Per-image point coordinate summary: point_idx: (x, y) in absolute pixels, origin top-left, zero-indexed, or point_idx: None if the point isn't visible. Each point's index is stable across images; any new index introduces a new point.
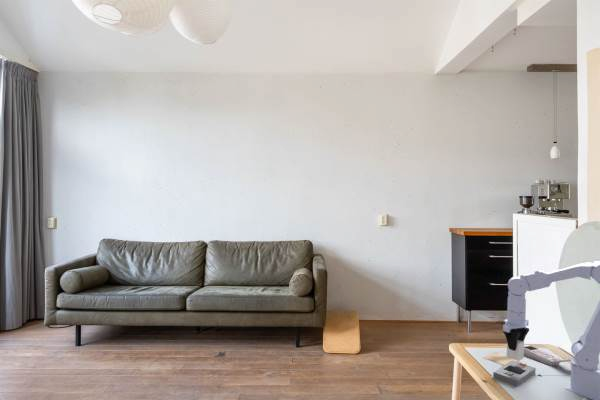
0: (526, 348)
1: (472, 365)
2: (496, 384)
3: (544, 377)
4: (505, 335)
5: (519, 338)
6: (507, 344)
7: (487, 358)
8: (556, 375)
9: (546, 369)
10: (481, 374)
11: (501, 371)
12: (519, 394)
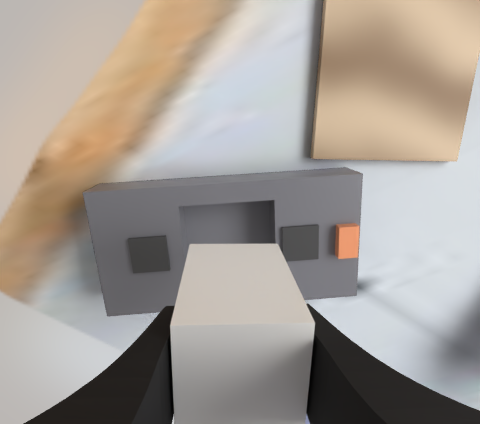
0: None
1: (156, 2)
2: (57, 224)
3: (348, 309)
4: (64, 405)
5: (319, 409)
6: (175, 303)
7: (332, 16)
8: (416, 327)
9: (455, 277)
10: (89, 114)
11: (135, 216)
12: (69, 325)
